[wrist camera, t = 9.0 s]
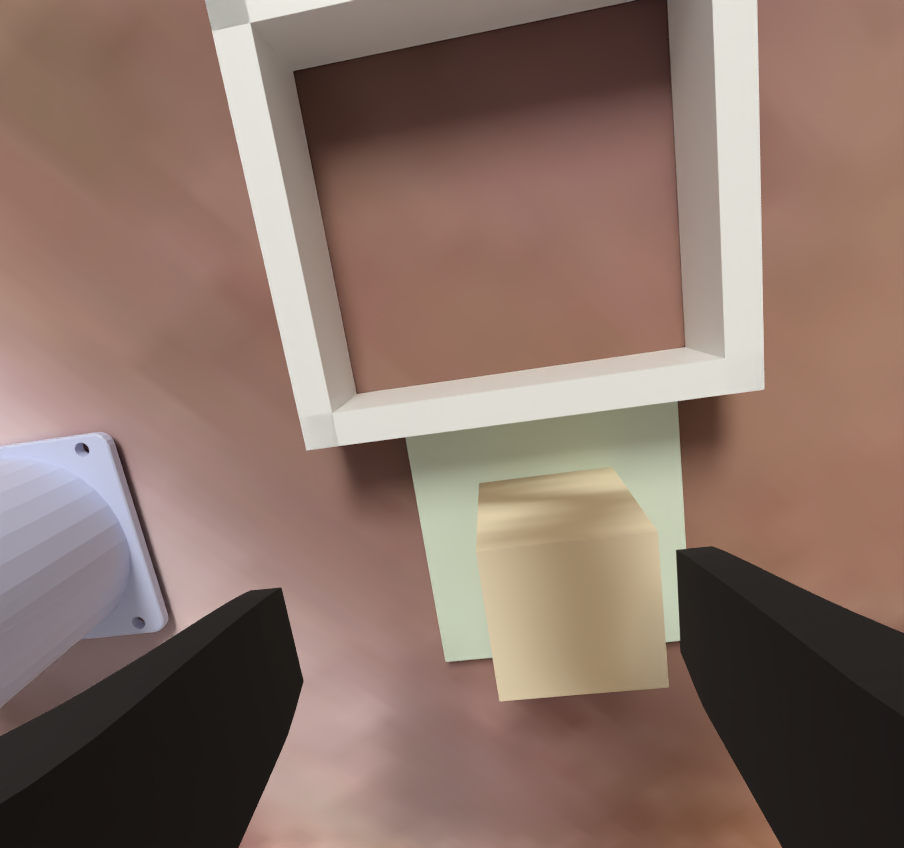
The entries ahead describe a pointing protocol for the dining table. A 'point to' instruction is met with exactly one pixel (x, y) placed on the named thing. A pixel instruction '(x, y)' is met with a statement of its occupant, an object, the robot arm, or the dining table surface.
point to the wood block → (570, 586)
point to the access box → (528, 391)
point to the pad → (533, 454)
